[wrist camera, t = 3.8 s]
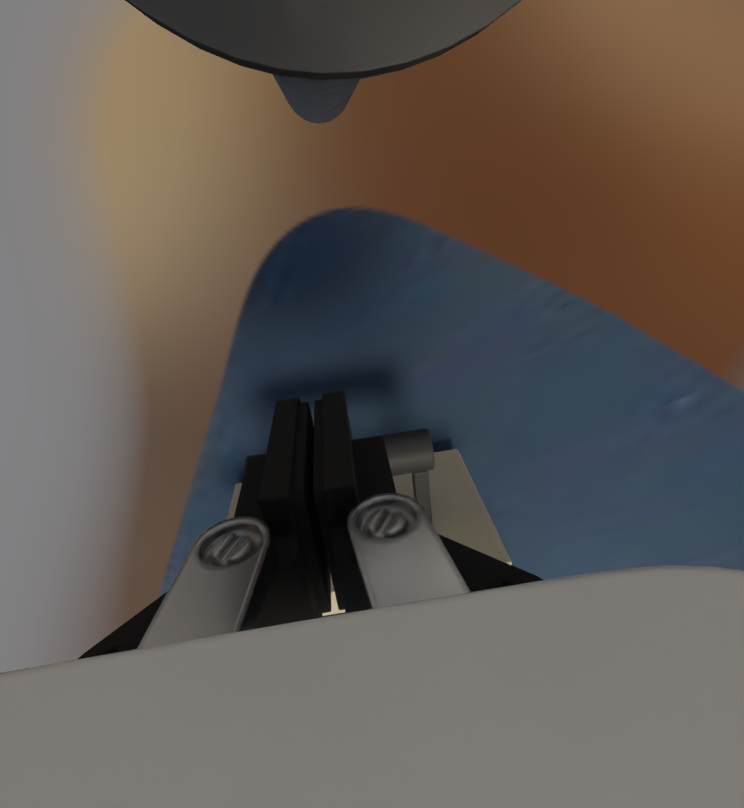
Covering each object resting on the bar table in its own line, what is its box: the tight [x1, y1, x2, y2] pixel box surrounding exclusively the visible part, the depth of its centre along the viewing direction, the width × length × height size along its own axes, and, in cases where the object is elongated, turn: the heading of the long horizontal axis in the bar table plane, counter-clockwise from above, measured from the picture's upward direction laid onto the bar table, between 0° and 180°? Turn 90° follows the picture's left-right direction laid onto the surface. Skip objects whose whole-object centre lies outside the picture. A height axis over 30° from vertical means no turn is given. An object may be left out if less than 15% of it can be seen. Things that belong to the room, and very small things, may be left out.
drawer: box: [227, 429, 512, 617], centre depth 23 cm, size 18×11×8 cm, turn 7°
